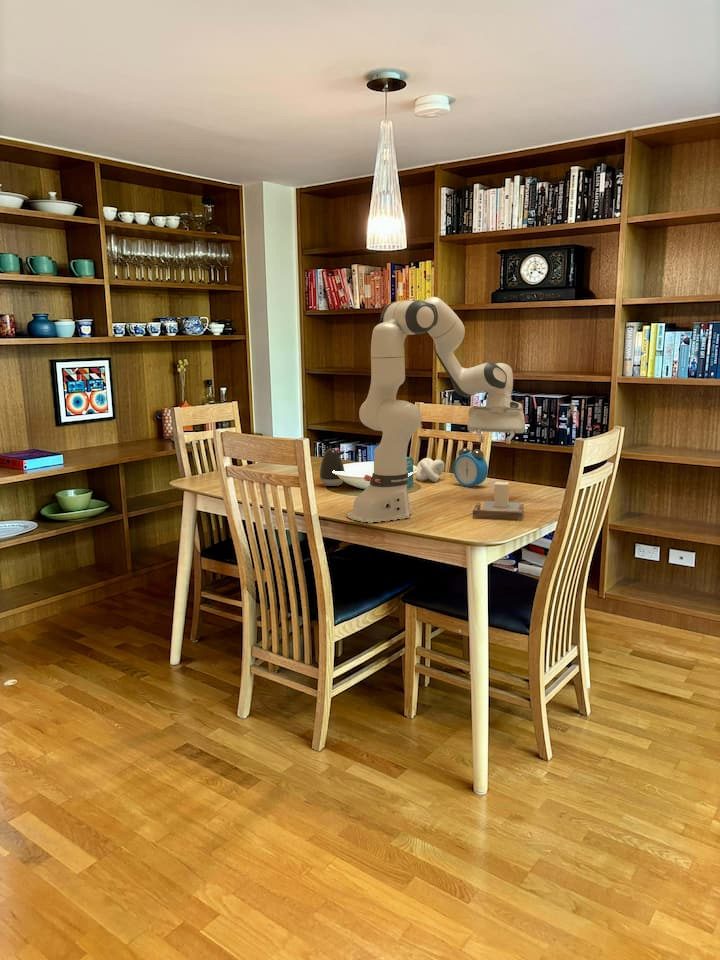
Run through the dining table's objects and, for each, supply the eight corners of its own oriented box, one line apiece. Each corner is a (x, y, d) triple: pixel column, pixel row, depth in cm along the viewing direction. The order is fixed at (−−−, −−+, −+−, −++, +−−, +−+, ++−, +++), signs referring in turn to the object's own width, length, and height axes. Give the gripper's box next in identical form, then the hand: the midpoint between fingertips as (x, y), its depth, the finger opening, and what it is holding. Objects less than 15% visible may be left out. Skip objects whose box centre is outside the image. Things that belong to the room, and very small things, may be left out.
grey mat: (518, 515, 247) (518, 510, 246) (481, 513, 250) (481, 509, 250) (520, 506, 258) (520, 502, 258) (485, 505, 261) (485, 501, 261)
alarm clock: (452, 484, 297) (452, 447, 294) (462, 482, 301) (462, 446, 298) (478, 489, 287) (479, 451, 284) (488, 486, 292) (489, 449, 289)
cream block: (507, 507, 251) (508, 484, 249) (494, 507, 252) (494, 484, 251) (508, 504, 255) (508, 482, 254) (495, 504, 256) (495, 481, 255)
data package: (398, 491, 286) (398, 461, 284) (388, 490, 288) (388, 460, 286) (413, 486, 296) (413, 456, 293) (403, 485, 298) (403, 455, 296)
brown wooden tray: (521, 525, 234) (521, 512, 234) (472, 522, 238) (472, 510, 238) (523, 516, 245) (523, 504, 245) (476, 514, 249) (476, 502, 249)
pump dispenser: (342, 488, 294) (341, 450, 291) (317, 487, 296) (315, 450, 293) (348, 483, 304) (347, 446, 301) (323, 482, 306) (322, 446, 303)
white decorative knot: (444, 483, 299) (444, 462, 297) (414, 483, 301) (414, 462, 299) (444, 478, 310) (444, 457, 308) (415, 478, 312) (415, 457, 310)
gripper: (468, 402, 266) (464, 437, 262) (526, 404, 261) (523, 440, 256) (470, 409, 272) (466, 444, 268) (527, 411, 266) (523, 447, 262)
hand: (494, 442), depth 262 cm, fingers open, 8 cm apart
